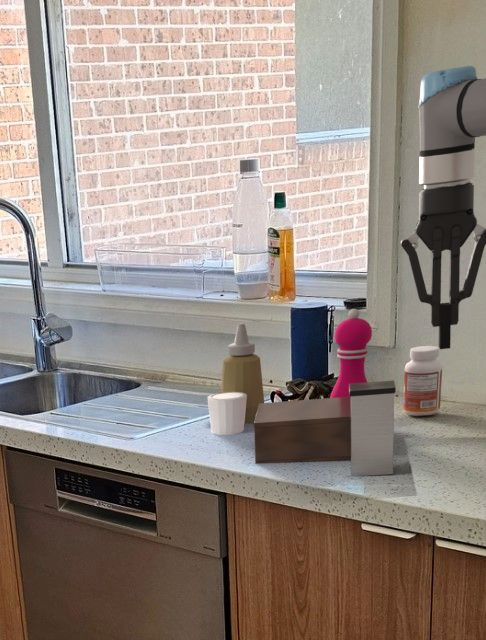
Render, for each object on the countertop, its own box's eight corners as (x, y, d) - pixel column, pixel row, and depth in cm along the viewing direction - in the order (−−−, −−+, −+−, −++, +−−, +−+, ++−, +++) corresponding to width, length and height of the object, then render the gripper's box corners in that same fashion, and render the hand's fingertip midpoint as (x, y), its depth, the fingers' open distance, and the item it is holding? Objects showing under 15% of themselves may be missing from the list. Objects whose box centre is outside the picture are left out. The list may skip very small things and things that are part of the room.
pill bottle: (414, 407, 219) (417, 344, 214) (446, 409, 214) (450, 345, 210) (395, 414, 215) (398, 350, 211) (428, 417, 211) (431, 352, 206)
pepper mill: (329, 433, 209) (332, 313, 201) (327, 423, 216) (330, 307, 208) (373, 431, 208) (378, 310, 199) (370, 421, 214) (375, 304, 206)
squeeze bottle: (269, 418, 226) (270, 319, 219) (256, 428, 220) (256, 327, 213) (227, 417, 230) (226, 320, 223) (213, 428, 224) (212, 327, 217)
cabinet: (355, 438, 205) (355, 396, 202) (356, 460, 192) (356, 415, 189) (260, 444, 210) (259, 403, 207) (255, 466, 197) (253, 423, 194)
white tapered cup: (206, 439, 217) (205, 400, 214) (210, 430, 223) (209, 392, 220) (245, 438, 215) (245, 398, 212) (248, 429, 221) (248, 390, 218)
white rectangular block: (393, 465, 187) (394, 380, 182) (394, 474, 182) (395, 387, 177) (349, 467, 189) (349, 383, 184) (349, 477, 184) (349, 391, 179)
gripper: (491, 176, 180) (487, 339, 189) (398, 189, 184) (398, 347, 193) (497, 179, 174) (493, 346, 183) (400, 192, 178) (400, 355, 187)
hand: (444, 347), depth 188 cm, fingers closed
